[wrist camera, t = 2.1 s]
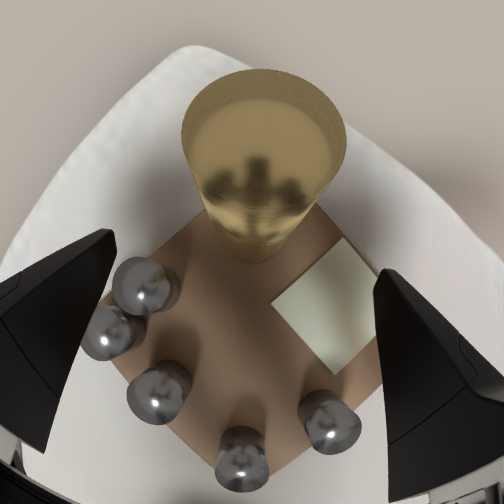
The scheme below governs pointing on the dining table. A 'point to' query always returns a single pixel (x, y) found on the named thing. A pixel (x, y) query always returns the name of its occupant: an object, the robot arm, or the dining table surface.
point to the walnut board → (262, 334)
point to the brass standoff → (261, 156)
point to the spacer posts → (180, 382)
